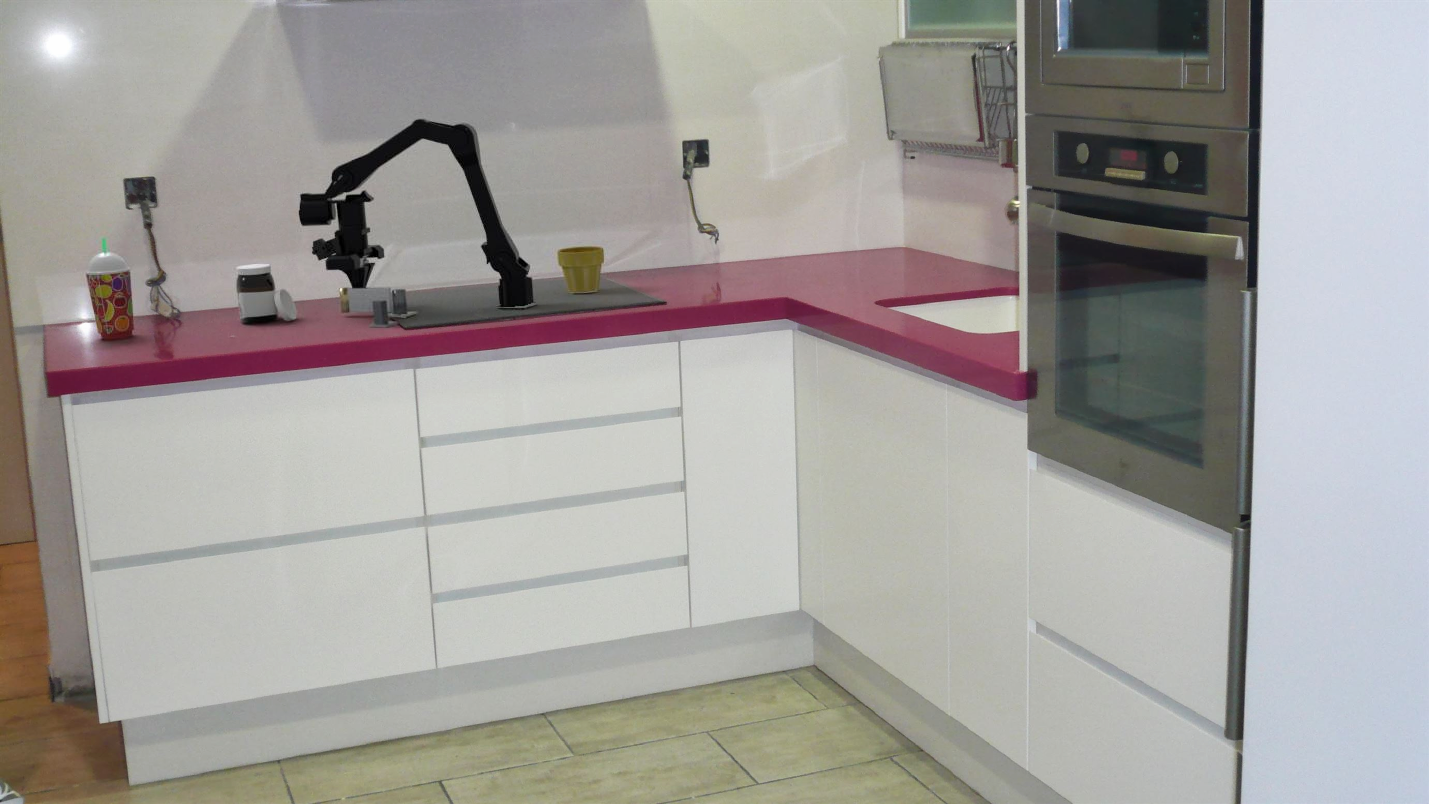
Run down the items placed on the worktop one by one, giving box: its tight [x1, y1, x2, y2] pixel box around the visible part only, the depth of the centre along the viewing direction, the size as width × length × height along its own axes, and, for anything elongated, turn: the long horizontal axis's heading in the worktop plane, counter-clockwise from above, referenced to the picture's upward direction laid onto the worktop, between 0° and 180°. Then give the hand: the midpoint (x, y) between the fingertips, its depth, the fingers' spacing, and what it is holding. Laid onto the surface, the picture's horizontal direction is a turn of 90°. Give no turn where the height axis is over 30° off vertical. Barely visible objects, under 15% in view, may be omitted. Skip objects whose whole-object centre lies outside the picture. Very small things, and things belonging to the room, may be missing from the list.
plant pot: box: [557, 245, 605, 293], centre depth 317 cm, size 10×10×10 cm
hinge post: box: [388, 288, 418, 319], centre depth 296 cm, size 5×5×6 cm
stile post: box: [369, 300, 398, 329], centre depth 285 cm, size 4×4×5 cm
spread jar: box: [235, 263, 298, 325], centre depth 296 cm, size 12×11×12 cm
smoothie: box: [84, 237, 135, 341], centre depth 282 cm, size 8×8×20 cm
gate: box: [338, 286, 394, 314], centre depth 297 cm, size 11×2×5 cm, turn 80°
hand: (359, 297), depth 300 cm, fingers closed
